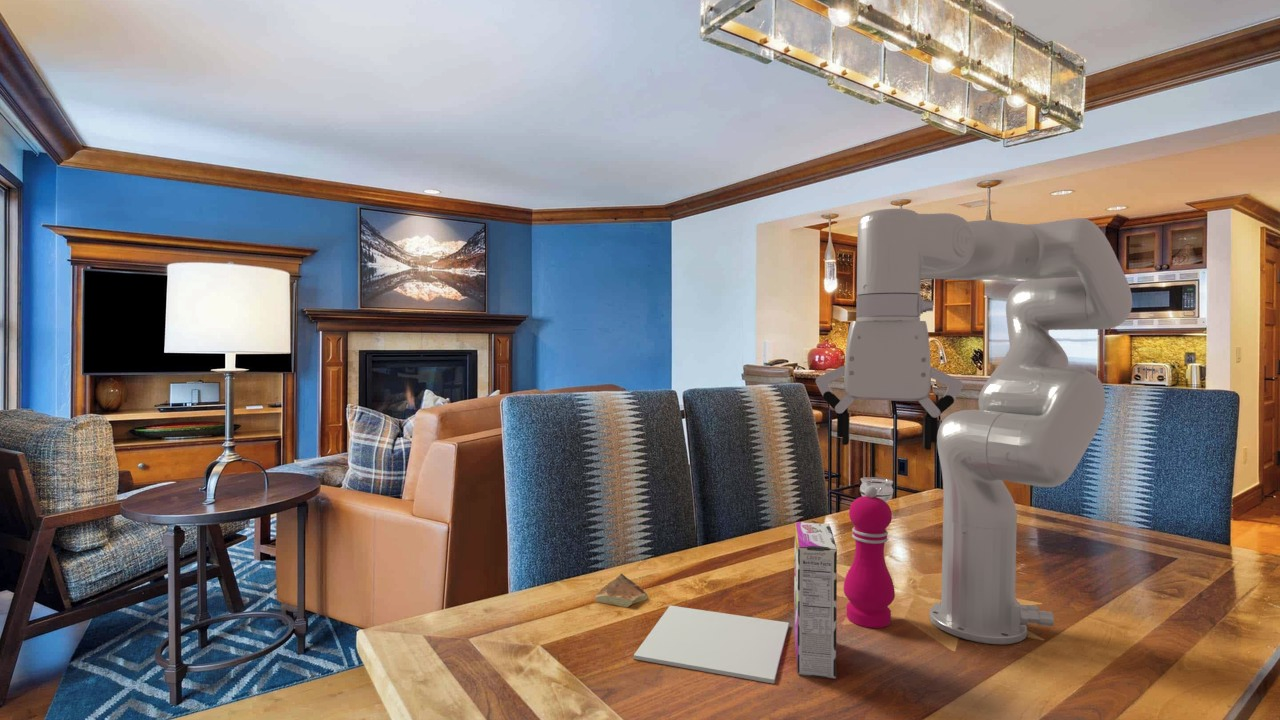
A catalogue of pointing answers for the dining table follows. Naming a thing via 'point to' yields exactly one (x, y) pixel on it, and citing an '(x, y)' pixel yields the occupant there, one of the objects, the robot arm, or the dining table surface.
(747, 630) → the pale gray mat
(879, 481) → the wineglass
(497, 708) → the dining table surface
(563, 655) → the dining table surface
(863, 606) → the pepper mill
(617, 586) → the shard
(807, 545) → the candy bar box
